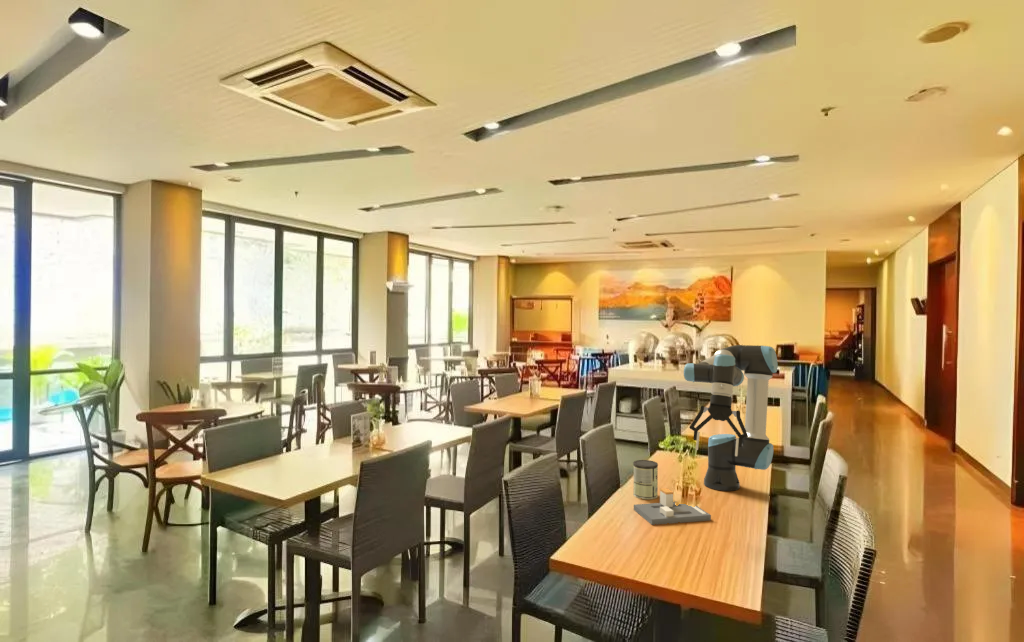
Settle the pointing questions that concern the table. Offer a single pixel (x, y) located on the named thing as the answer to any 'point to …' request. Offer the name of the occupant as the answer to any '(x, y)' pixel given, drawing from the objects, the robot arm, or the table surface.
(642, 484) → the coffee can
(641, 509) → the panel
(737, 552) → the table surface
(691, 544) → the table surface
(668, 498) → the handle
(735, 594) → the table surface
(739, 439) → the robot arm
